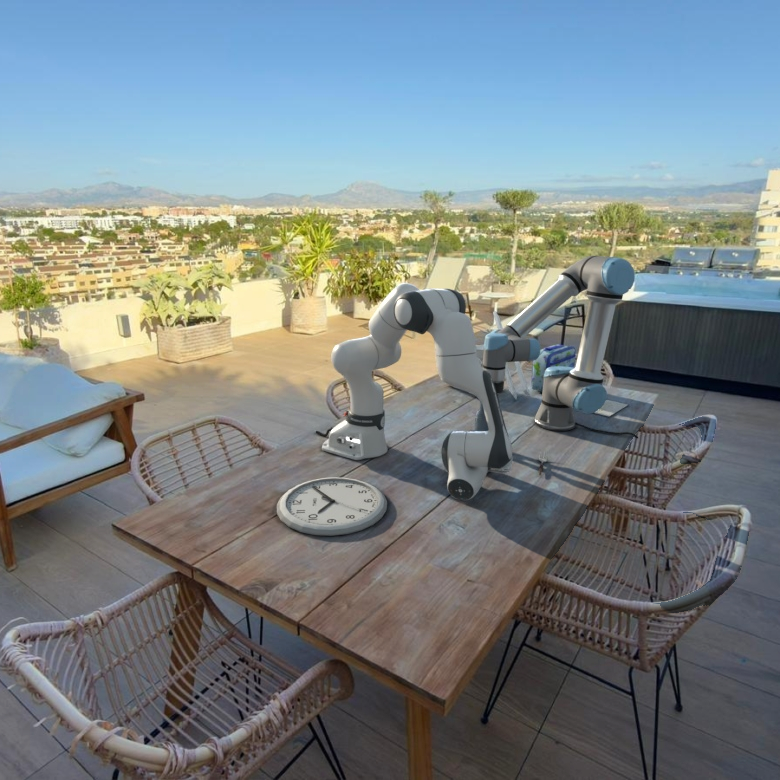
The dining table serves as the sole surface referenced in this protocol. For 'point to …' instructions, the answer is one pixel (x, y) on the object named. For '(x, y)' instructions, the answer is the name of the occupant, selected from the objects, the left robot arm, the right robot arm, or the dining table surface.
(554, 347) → the lunch box
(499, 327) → the white plastic object
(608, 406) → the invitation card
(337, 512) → the wall clock
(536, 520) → the dining table surface
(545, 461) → the fork
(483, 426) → the bottle
